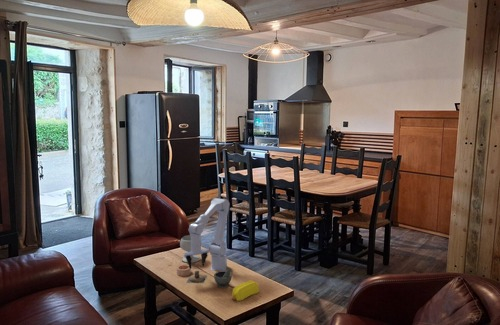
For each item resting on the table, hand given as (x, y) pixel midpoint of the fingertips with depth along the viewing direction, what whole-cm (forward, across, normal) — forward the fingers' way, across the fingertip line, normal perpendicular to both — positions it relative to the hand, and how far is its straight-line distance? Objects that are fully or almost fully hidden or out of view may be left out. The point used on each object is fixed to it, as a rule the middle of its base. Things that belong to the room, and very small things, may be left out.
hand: (196, 266), depth 219 cm
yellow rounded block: (+8, -17, +30) cm, 35 cm away
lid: (+7, 0, 0) cm, 7 cm away
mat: (+8, 0, 0) cm, 8 cm away
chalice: (+8, -7, -31) cm, 33 cm away
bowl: (+8, +4, -12) cm, 15 cm away
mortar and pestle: (+8, -11, +15) cm, 20 cm away
